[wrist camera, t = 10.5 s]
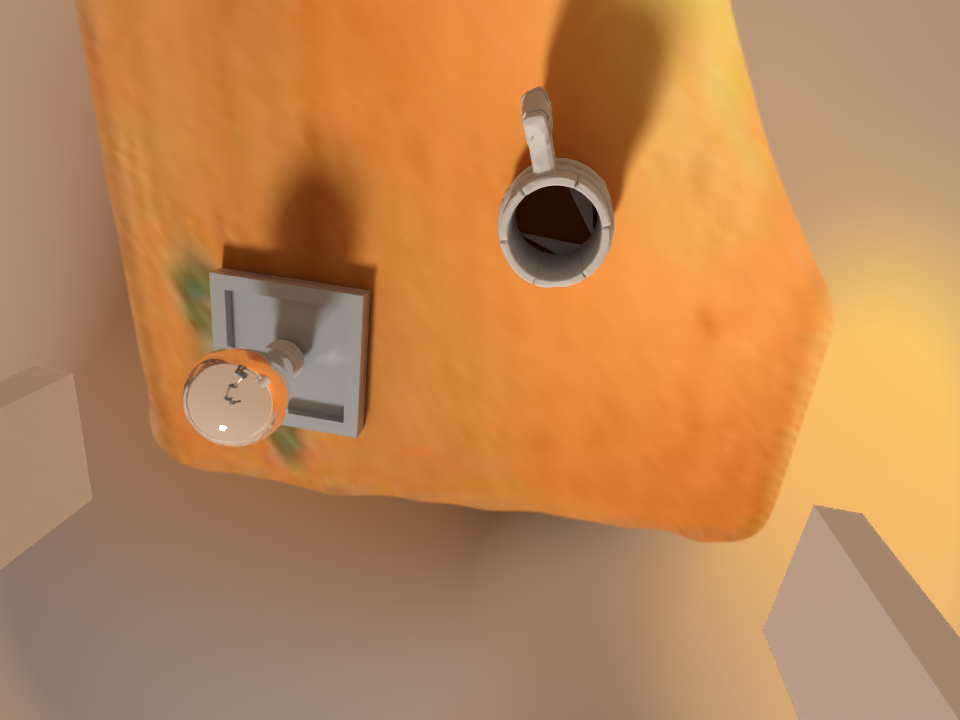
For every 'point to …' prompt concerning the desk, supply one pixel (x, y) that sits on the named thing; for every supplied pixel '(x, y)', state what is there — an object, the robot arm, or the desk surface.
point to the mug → (585, 188)
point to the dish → (301, 340)
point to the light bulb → (241, 392)
